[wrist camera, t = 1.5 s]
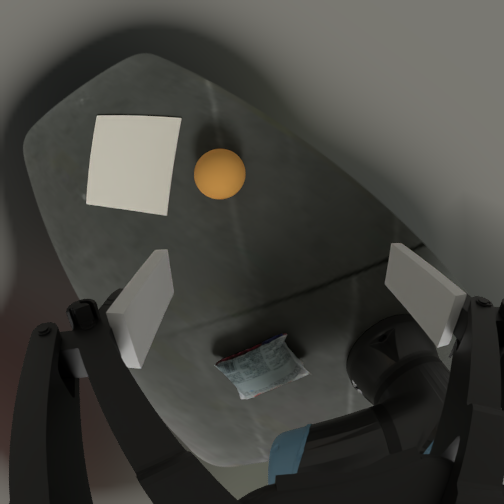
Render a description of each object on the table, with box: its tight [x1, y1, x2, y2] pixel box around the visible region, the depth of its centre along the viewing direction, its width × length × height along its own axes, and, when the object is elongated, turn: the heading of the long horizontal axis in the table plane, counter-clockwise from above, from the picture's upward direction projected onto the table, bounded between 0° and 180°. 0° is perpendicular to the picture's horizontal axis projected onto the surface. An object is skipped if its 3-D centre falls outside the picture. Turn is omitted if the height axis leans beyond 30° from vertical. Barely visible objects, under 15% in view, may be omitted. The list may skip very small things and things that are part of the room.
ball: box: [194, 149, 246, 199], centre depth 29 cm, size 6×6×6 cm
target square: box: [86, 115, 182, 216], centre depth 31 cm, size 12×12×1 cm
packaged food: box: [214, 333, 312, 399], centre depth 37 cm, size 9×12×5 cm
